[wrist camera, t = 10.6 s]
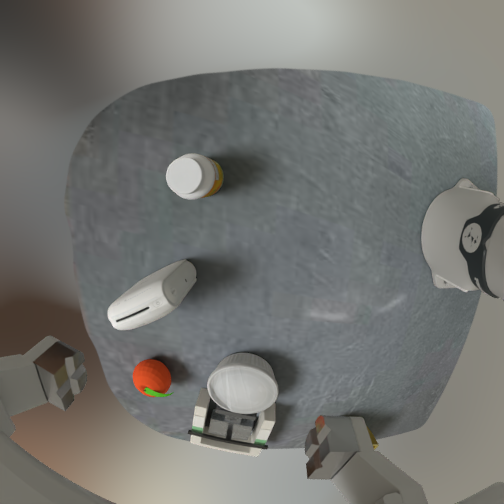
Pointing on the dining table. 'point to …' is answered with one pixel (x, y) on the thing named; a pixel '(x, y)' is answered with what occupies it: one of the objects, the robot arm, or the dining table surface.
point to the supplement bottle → (194, 176)
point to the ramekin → (243, 384)
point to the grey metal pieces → (230, 427)
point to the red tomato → (152, 378)
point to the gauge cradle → (257, 437)
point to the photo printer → (153, 296)
